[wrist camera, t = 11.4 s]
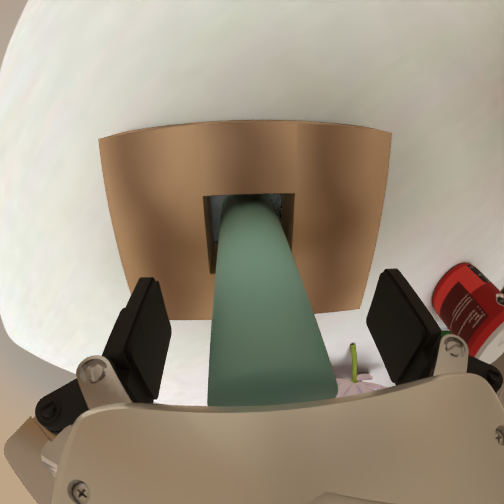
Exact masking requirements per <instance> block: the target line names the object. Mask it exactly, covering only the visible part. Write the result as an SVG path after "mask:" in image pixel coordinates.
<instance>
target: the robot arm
mask: <svg viewBox="0 0 504 504" xmlns="http://www.w3.org/2000/svg"><path fill="white" fill-rule="evenodd" d="M366 323H367V326H368V329H369V331H370V333H371V335H372V337H373V339H374V342H375V344H376V346H377V348H378V351H379V353H380V355H381V358H382V360H383V362H384V364H385V367H386V369H387V372H388V374H389V376H390V379H391V381H392V382H393V383H395V384H396V386H393V387H389V388H384V389H380V390H375V391H371V392H366V393H361V394H355V395H350V396H344V397H338V398H332V399H325V400H317V401H309V402H300V403H290V404H278V405H262V406H232V407H216V406H182V405H165V404H153V400H154V399H157V398H158V395H159V389H160V384H161V379H162V375H163V370H164V365H165V360H166V356H167V351H168V347H169V342H170V338H171V325H170V321H169V318H168V314H167V311H166V307H165V303H164V299H163V295H162V292H161V288H160V284H159V281H155V279H154V278H153V277H140V278H139V280H138V282H137V284H136V286H135V288H134V290H133V293H132V295H131V297H130V299H129V301H128V303H127V306H126V308H123V309H122V310H121V312H120V314H119V316H118V318H117V321H116V323H115V325H114V327H113V330H112V332H111V334H110V337H109V339H108V342H107V344H106V346H105V349H104V351H103V354H102V356H99V355H96V356H90V357H87V358H86V359H84V360H83V361H82V362H81V363H80V364H79V366H78V368H77V371H76V376H77V378H76V379H75V380H73V381H71V382H69V383H68V384H66V385H64V386H62V387H61V388H59V389H57V390H55V391H54V392H52V393H50V394H48V395H46V396H44V397H43V398H42V399H40V401H39V402H38V403H37V406H36V409H35V415H36V416H35V417H34V418H32V417H31V416H30V417H29V418H28V419H27V420H26V422H25V423H24V424H23V425H22V426H21V427H20V428H19V429H18V430H17V431H16V432H15V433H14V434H13V435H12V436H11V437H10V438H9V439H8V440H7V442H6V444H5V447H4V454H5V457H6V459H7V460H8V462H9V464H10V465H11V467H12V469H13V470H14V471H15V473H16V474H17V476H18V477H19V479H20V480H21V481H22V483H23V485H24V486H25V487H26V488H27V490H28V491H29V492H30V494H31V495H32V496H33V498H34V499H35V500H36V502H37V503H38V504H504V384H503V378H502V375H501V373H500V371H499V370H498V369H497V368H496V367H494V366H492V365H490V364H488V363H486V362H483V361H481V360H479V359H477V358H475V357H473V356H470V355H468V353H469V351H468V346H467V344H466V343H465V341H464V340H463V339H462V338H460V337H459V336H457V335H453V334H447V335H445V336H444V337H442V336H441V332H442V330H441V329H440V327H439V326H438V324H437V323H436V321H435V320H434V318H433V317H432V315H431V314H430V312H429V311H428V309H427V308H426V307H425V305H424V304H423V302H422V301H421V299H420V298H419V297H418V295H417V294H416V292H415V291H414V290H413V288H412V287H411V286H410V284H409V283H408V282H407V280H406V279H405V278H404V276H403V275H402V274H401V272H400V271H399V270H398V269H385V270H384V271H383V273H381V274H380V277H379V280H378V284H377V287H376V290H375V294H374V297H373V300H372V303H371V306H370V309H369V312H368V315H367V319H366Z"/></svg>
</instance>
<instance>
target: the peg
mask: <svg viewBox="0 0 504 504" xmlns="http://www.w3.org/2000/svg"><path fill="white" fill-rule="evenodd" d="M337 393H338V385H337V381H336V378H335V375H334V372H333V369H332V366H331V363H330V360H329V357H328V354H327V351H326V348H325V345H324V342H323V339H322V336H321V333H320V330H319V327H318V324H317V321H316V318H315V316H314V313H313V310H312V307H311V304H310V301H309V299H308V296H307V293H306V290H305V287H304V285H303V282H302V279H301V276H300V274H299V271H298V268H297V266H296V263H295V260H294V258H293V255H292V252H291V250H290V247H289V244H288V242H287V239H286V236H285V234H284V231H283V229H282V226H281V224H280V221H279V218H278V216H277V213H276V211H275V208H274V206H273V203H272V201H271V199H270V197H269V196H268V194H234V195H227V196H226V198H225V199H224V202H223V205H222V212H221V221H220V231H219V241H218V252H217V263H216V274H215V286H214V299H213V312H212V326H211V342H210V358H209V378H208V400H207V404H208V406H216V407H232V406H262V405H278V404H290V403H300V402H309V401H317V400H325V399H332V398H336V396H337Z"/></svg>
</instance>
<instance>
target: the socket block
mask: <svg viewBox="0 0 504 504" xmlns="http://www.w3.org/2000/svg"><path fill="white" fill-rule="evenodd" d="M391 135H392V133H390V132H386V131H382V130H377V129H373V128H368V127H363V126H356V125H347V124H337V123H326V122H312V121H293V120H230V121H211V122H197V123H186V124H176V125H167V126H159V127H152V128H145V129H138V130H132V131H127V132H122V133H118V134H115V135H111V136H108V137H104V138H101V139H98V140H99V149H100V157H101V164H102V171H103V178H104V184H105V190H106V195H107V201H108V206H109V211H110V216H111V220H112V225H113V229H114V234H115V238H116V242H117V246H118V250H119V254H120V258H121V262H122V265H123V269H124V272H125V276H126V279H127V283H128V286H129V289H130V292H131V295H132V293H133V290H134V288H135V286H136V284H137V282H138V280H139V278H140V277H153V278H154V279H155V281H159V284H160V288H161V292H162V295H163V299H164V303H165V307H166V311H167V314H168V318H169V320H212V312H213V299H214V286H215V274H216V263H217V252H218V243H214V241H213V229H212V216H211V202H210V196H212V195H234V194H269V193H282V213H281V226H282V229H283V231H284V234H285V236H286V239H287V242H288V244H289V247H290V250H291V252H292V255H293V258H294V260H295V263H296V266H297V268H298V271H299V274H300V276H301V279H302V282H303V285H304V287H305V290H306V293H307V296H308V299H309V301H310V304H311V307H312V310H313V313H314V314H317V313H327V312H337V311H346V310H355V309H360V306H361V302H362V299H363V295H364V291H365V288H366V284H367V280H368V276H369V272H370V268H371V264H372V259H373V255H374V250H375V246H376V241H377V236H378V231H379V226H380V220H381V215H382V209H383V203H384V196H385V190H386V183H387V175H388V167H389V158H390V147H391Z"/></svg>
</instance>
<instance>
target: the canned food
mask: <svg viewBox="0 0 504 504" xmlns="http://www.w3.org/2000/svg"><path fill="white" fill-rule="evenodd" d="M433 306H434V309H435V311H436V313H437V314H438V315H439V317H440V318H441V319H442V321H443V322H444V323H445V325H446V326H447V328H448V329H449V330H450V332H451V333H452V334H453V335H457V336H459V337H460V338H462V339H463V340H464V341H465V343H466V344H467V346H468V351H469V353H468V355H470V356H473V357H475V358H477V359H479V360H481V361H483V362H486V363H488V364H491V363H492V362H493V361H495V360H496V359H497V358H498V357H499V356H500V355H501V354H502V353H503V352H504V295H503V294H502V293H501V292H500V291H499V290H498V289H497V288H496V287H495V286H494V285H493V284H492V283H491V282H490V281H489V280H488V279H487V278H486V277H485V276H484V275H483V274H482V273H481V272H480V271H479V270H478V269H477V268H476V267H475V266H473V265H471V264H468V263H462V264H459V265H457V266H455V267H453V268H452V269H451V270H450V271H448V272H447V273H446V274H445V275H444V277H443V278H442V279H441V280H440V282H439V283H438V285H437V287H436V289H435V291H434V294H433Z"/></svg>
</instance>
